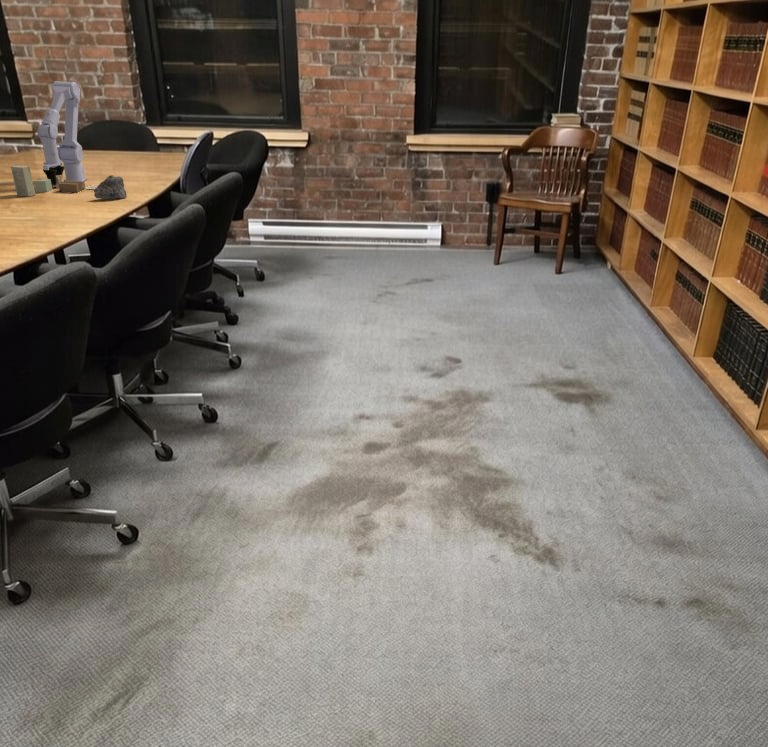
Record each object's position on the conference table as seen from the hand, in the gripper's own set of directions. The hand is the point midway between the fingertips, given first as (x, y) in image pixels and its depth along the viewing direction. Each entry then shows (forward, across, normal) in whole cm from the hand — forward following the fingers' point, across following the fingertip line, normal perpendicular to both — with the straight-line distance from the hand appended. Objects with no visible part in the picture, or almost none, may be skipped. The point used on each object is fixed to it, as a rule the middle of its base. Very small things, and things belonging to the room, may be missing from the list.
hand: (56, 183), depth 301 cm
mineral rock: (+2, +18, +32) cm, 37 cm away
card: (+1, -3, +16) cm, 16 cm away
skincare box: (+2, +20, -4) cm, 20 cm away
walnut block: (+2, +6, +10) cm, 12 cm away
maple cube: (+1, 0, 0) cm, 1 cm away
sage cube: (+2, +10, -1) cm, 10 cm away
